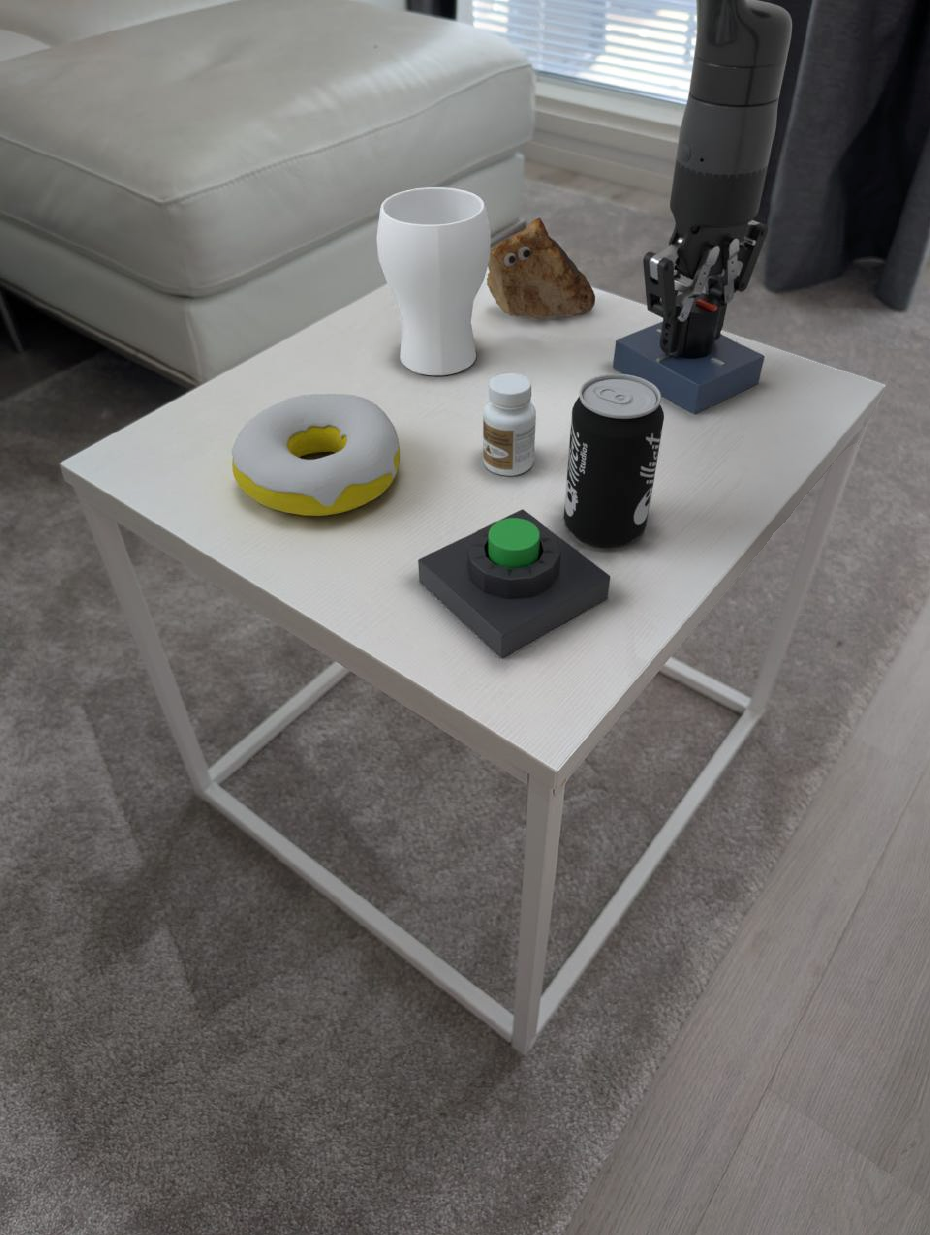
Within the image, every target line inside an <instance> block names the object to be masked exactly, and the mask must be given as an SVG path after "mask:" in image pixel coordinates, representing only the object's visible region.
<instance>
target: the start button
mask: <svg viewBox="0 0 930 1235" xmlns="http://www.w3.org/2000/svg"><path fill="white" fill-rule="evenodd" d="M500 520H501V519H500ZM497 521H498V522H497ZM497 521H496V522H497V523H495V524H494V525H493V526H492V527H491V528H490V530H489V550H488V552H489V557H490V558H491V560H492V561H493V562H494V563H495V564H497V565H499V566H503V567H507V568H510V569H511V568H522V567H527V566H529V565H531V564H533V563H534V562H535V561H536V560H537V558H538V555H539V542H540V532H539V530H538V528H537V527H536V526H535V525H534V524H533V523H531V522H529V521H527V520H524V519H518V518H509V519H504V520H501V521H499V520H497Z"/></svg>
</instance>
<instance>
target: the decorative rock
mask: <svg viewBox="0 0 930 1235" xmlns="http://www.w3.org/2000/svg"><path fill="white" fill-rule="evenodd" d="M487 269H488V273H487V278H486V285H487V287H488V289H489V291H490V294H491V296H492V297H493V299H494V300H495V304H496V305H497V306H498V307H499V308H500V309H501V311H502V312H503V313H505V314H507V315H509V316H515V317H519V318H532V319H543V318H548V317H549V318H550V317H554V316H558V317H573V316H574V317H575V316H580V315H586V314H588V313H589V312H590V311H591V310H592V309H593V308H594V306H595V304H596V295H595V292H594V290H593V288H592V286H591V284H590V282H589V280H588V279H587V277H586V276H585V274H584V273H582V271H580V270H579V269H578V267H577V265H576V263H575V262H574V261H573V260H572V259H571V258H570V257H569V256H568V254H567V253H566V251H565V250H564V249H563V248H562V246H561V245H560V244H559V243H558V242H557V241H556V240H555V239H554V238H552V237H551V236H550V235H549V232H548V230H547V229H546V226H545V224H544V222H543V220H542V218H541V217H539V216H538V217H537V218H535V219H534V220H532V221H531V222H530V224H528V225H527V227H525V229H523V230H521V231H518V232H516V233H514V234H513V235H512V236H510V237H509V238H506V239H503V240H502V241H500V242H499V243H498V244H496V246H494V248H492V250H490V261H489V264H488V268H487Z"/></svg>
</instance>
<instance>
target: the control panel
mask: <svg viewBox="0 0 930 1235" xmlns="http://www.w3.org/2000/svg"><path fill="white" fill-rule="evenodd" d="M662 323H663V320H662V321H660V322H658V323H655V324H653V325H651V326H647V327H645V328H643V329H640V330H638V331H635V332H633V333H631V334H628V335H626V336H623V337H621V338H618V339H616V340H615V345H614V355H613V364H612V369H614V370H616V371H618V372H620V373H621V374H627V375H633V376H637V377H640V378H643V379H645V380H647V381H649V382H651V383H652V384H653V385H655V386H656V387H657V388H658V390H659V392H660V394H661V397H663V398H666V399H667V400H668V401H671V403H674V404H676V405H677V406H679V407H681V408H683V409H685V410H686V411H688V412H689V413H691V414H693V415H695V414H697V413H699V412H702V411H704V410H706V409H709V408H710V407H712V406H714V405H716V404H719V403H721V402H723V401H725V400H728V399H729V398H732V397H733V396H735V395H737V394H740V393H742V392H744V391H747V390H748V389H751V388H753V387H754V386H756V385H758V384H759V383H760V378H761V375H762V370H763V366H764V362H765V357H766V356H765V355H764V354H762V353H760V352H759V351H755V350H754V349H752V348H750V347H748V346H745V345H744V344H742V343H740V342H738V341H735V340H733V339H731V338H730V337H728V336H725V335H723V334H722V333H720V337H719V339H717V340H715V341H714V346H713V351H712V352H711V353H710V354H709V355H707V356H705V357H701V358H684V357H680V356H677V357H672V356H670V355H668V354H667V353H665V352H663V351H662V349H661V348H660V338H661V330H662Z"/></svg>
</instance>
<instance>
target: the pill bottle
mask: <svg viewBox="0 0 930 1235" xmlns="http://www.w3.org/2000/svg"><path fill="white" fill-rule="evenodd" d="M488 397H489V398H488V399H489V401H487V403H486V405H485V406H484V408H483V414H482V418H483V419H482V424H483V425H482V427H483V428H482V429H483V430H482V442H483V444H482V446H483V449H482V450H483V451H482V453H483V454H482V455H483V458H482V459H483V464H484V466H485V468H487V469H488V470H489V471H490V472H493V473H495V474H497V475H501V476H511V477H512V476H517V475H521V474H523V473H525V472H527V471H528V470H530V469H531V468H532V467H533V464H534V462H535V461H534V460H535V445H536V444H535V443H536V421H537V410H536V407H535V405H534V404H533V403H532V402H531V399H532V382H531V379H529V378H528V377H527V376H525V375H523V374H519V373H513V372H506V373H501V374H498V375H495V376H493V377H492V378H491V379H490V380H489V383H488Z"/></svg>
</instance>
